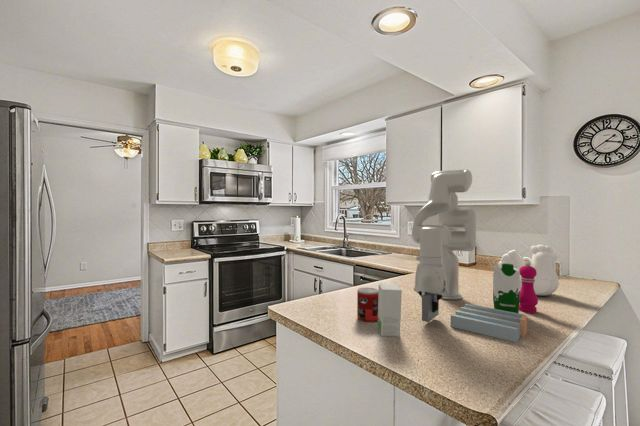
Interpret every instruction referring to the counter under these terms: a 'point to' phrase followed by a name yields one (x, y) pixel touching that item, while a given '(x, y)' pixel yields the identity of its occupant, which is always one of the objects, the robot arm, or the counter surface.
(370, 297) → the canned food
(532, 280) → the pepper mill
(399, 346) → the counter surface
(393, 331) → the skincare box
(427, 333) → the counter surface
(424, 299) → the panel
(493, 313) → the rack
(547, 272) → the decorative rooster
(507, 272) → the milk carton
